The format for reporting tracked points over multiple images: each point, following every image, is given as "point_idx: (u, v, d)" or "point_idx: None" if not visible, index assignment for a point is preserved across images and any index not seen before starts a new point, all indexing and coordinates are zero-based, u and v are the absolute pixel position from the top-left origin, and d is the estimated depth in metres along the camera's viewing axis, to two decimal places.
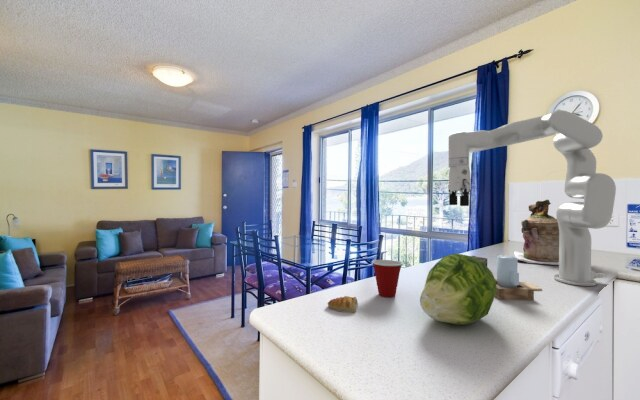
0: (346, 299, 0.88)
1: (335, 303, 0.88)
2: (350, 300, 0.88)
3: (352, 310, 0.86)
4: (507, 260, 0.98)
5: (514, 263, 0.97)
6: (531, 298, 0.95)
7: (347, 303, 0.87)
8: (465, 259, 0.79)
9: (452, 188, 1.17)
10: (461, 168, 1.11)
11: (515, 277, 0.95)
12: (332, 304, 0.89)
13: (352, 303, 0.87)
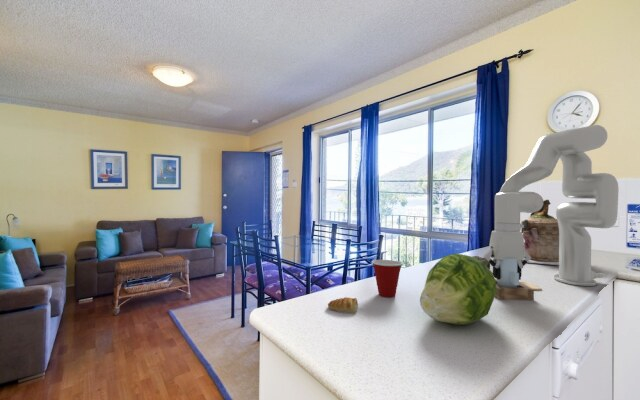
0: (347, 300, 0.88)
1: (336, 304, 0.87)
2: (351, 301, 0.87)
3: (353, 311, 0.85)
4: (507, 260, 0.98)
5: (514, 263, 0.97)
6: (531, 298, 0.95)
7: (348, 304, 0.86)
8: (465, 259, 0.79)
9: (508, 257, 0.98)
10: None
11: (515, 277, 0.95)
12: (332, 305, 0.88)
13: (353, 304, 0.86)
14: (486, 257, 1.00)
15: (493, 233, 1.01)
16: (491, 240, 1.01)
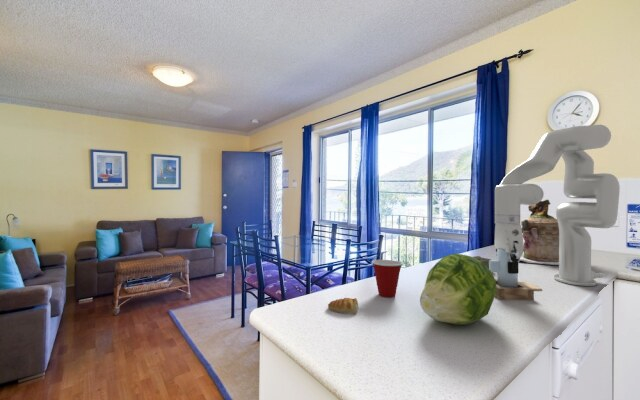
0: (347, 300, 0.87)
1: (336, 305, 0.87)
2: (351, 301, 0.87)
3: (353, 312, 0.85)
4: (497, 250, 1.02)
5: (500, 253, 1.00)
6: (531, 298, 0.95)
7: (348, 305, 0.86)
8: (465, 259, 0.79)
9: (499, 248, 1.01)
10: (511, 228, 0.96)
11: None
12: (332, 306, 0.87)
13: (353, 304, 0.86)
14: (494, 245, 1.07)
15: None
16: None
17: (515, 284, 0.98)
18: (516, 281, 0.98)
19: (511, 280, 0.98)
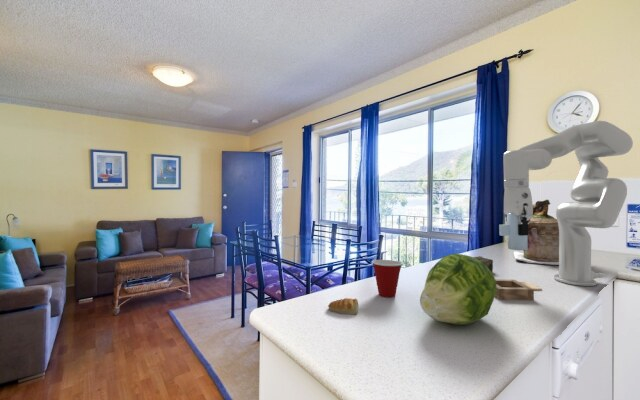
0: (347, 301, 0.87)
1: (336, 305, 0.86)
2: (351, 302, 0.86)
3: (354, 312, 0.85)
4: None
5: (510, 217, 1.03)
6: (531, 298, 0.95)
7: (349, 305, 0.85)
8: (465, 259, 0.79)
9: (509, 212, 1.05)
10: (521, 191, 0.99)
11: None
12: (333, 306, 0.87)
13: (354, 304, 0.86)
14: (504, 211, 1.11)
15: None
16: None
17: (525, 246, 1.02)
18: (526, 243, 1.02)
19: (521, 242, 1.01)
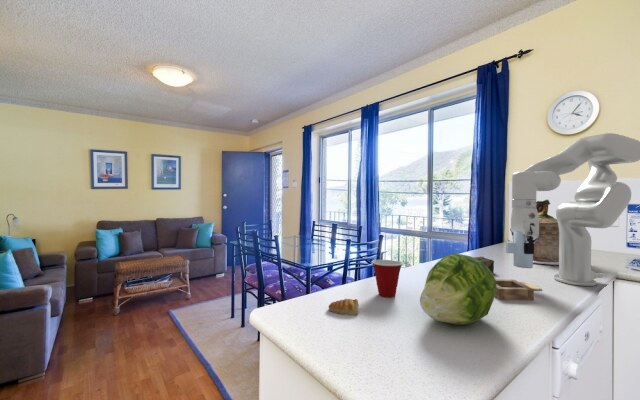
0: (348, 302, 0.86)
1: (337, 306, 0.86)
2: (352, 302, 0.86)
3: (355, 313, 0.84)
4: None
5: (516, 235, 1.07)
6: (531, 298, 0.95)
7: (349, 306, 0.85)
8: (465, 259, 0.79)
9: (516, 231, 1.09)
10: (528, 211, 1.03)
11: None
12: (333, 307, 0.86)
13: (355, 305, 0.85)
14: (510, 229, 1.15)
15: None
16: None
17: (531, 264, 1.05)
18: (531, 261, 1.05)
19: (527, 260, 1.05)
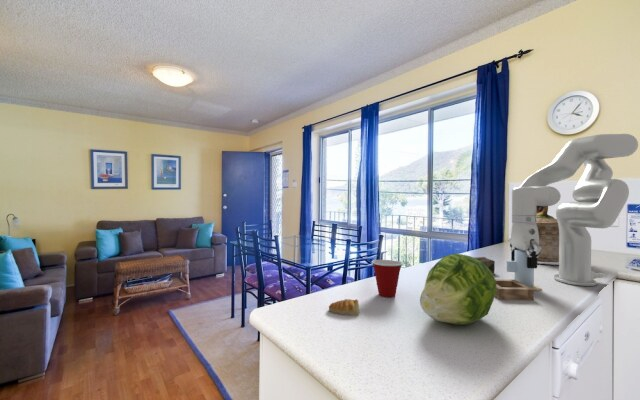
0: (348, 302, 0.86)
1: (337, 307, 0.85)
2: (352, 303, 0.86)
3: (355, 313, 0.84)
4: None
5: (517, 254, 1.07)
6: (531, 298, 0.95)
7: (350, 306, 0.84)
8: (465, 259, 0.79)
9: (516, 246, 1.09)
10: (528, 227, 1.03)
11: None
12: (334, 308, 0.86)
13: (355, 305, 0.85)
14: (509, 240, 1.16)
15: None
16: None
17: (531, 283, 1.05)
18: (532, 280, 1.05)
19: (528, 280, 1.05)
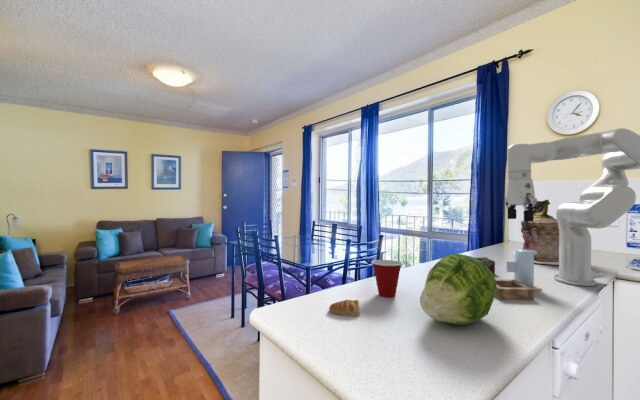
0: (349, 303, 0.86)
1: (338, 307, 0.85)
2: (353, 303, 0.85)
3: (356, 314, 0.84)
4: (514, 251, 1.09)
5: (517, 255, 1.07)
6: (531, 298, 0.95)
7: (351, 307, 0.84)
8: (465, 259, 0.79)
9: (512, 202, 1.12)
10: (524, 182, 1.07)
11: None
12: (334, 308, 0.85)
13: (356, 306, 0.85)
14: (505, 199, 1.20)
15: None
16: None
17: (531, 283, 1.05)
18: (532, 280, 1.05)
19: (528, 279, 1.05)
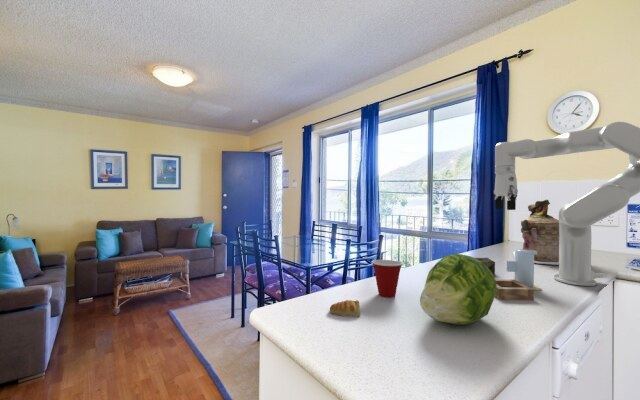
0: (349, 303, 0.85)
1: (338, 308, 0.84)
2: (354, 304, 0.85)
3: (357, 314, 0.83)
4: None
5: (517, 254, 1.07)
6: (531, 298, 0.95)
7: (351, 307, 0.84)
8: (465, 259, 0.79)
9: (498, 193, 1.27)
10: (508, 175, 1.22)
11: None
12: (335, 309, 0.85)
13: (357, 306, 0.84)
14: (494, 191, 1.35)
15: None
16: None
17: (531, 283, 1.05)
18: (532, 280, 1.05)
19: (528, 279, 1.05)
